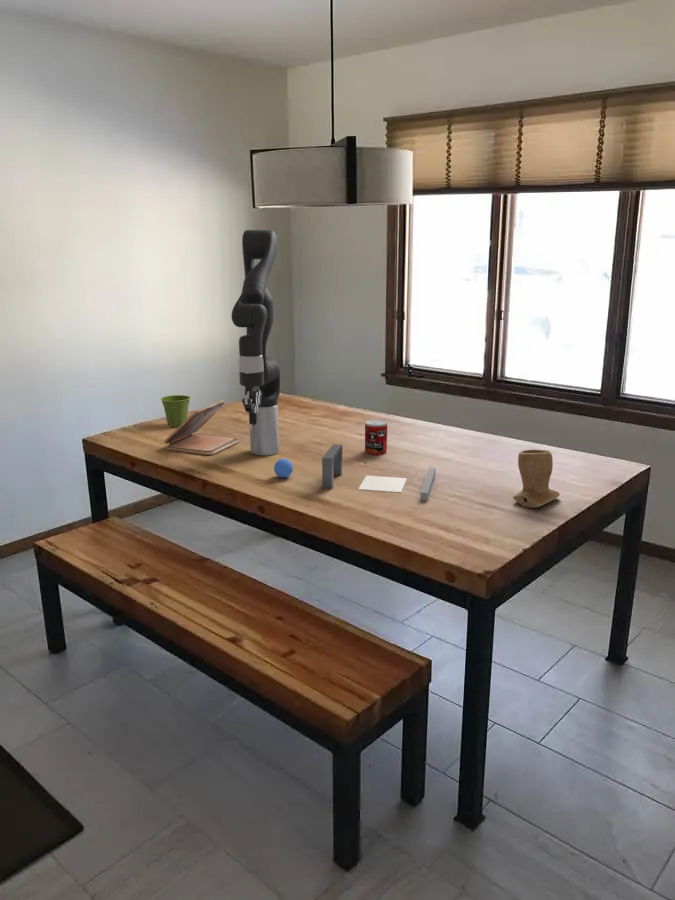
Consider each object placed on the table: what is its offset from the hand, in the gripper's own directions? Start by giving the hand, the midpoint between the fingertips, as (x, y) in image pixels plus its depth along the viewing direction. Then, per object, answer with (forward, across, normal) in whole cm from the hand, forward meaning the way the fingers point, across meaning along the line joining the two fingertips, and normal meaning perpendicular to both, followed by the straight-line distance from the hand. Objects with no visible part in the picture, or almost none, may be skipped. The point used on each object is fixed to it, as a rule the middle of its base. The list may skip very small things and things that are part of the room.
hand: (253, 423), depth 238 cm
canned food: (+17, -33, +34) cm, 50 cm away
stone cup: (+17, +5, +86) cm, 88 cm away
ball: (+14, 0, +10) cm, 17 cm away
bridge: (+17, 0, +26) cm, 31 cm away
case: (+18, -28, -30) cm, 44 cm away
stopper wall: (+17, 0, +56) cm, 58 cm away
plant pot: (+17, -53, -50) cm, 75 cm away
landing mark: (+17, 0, +42) cm, 45 cm away
